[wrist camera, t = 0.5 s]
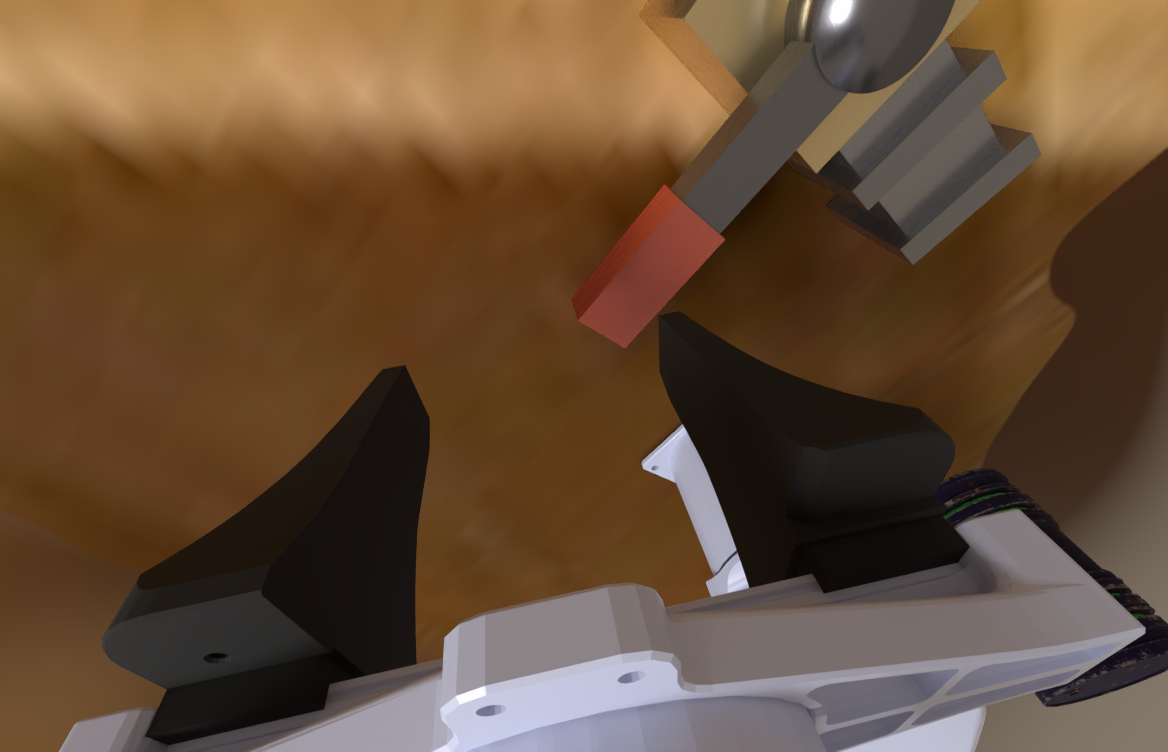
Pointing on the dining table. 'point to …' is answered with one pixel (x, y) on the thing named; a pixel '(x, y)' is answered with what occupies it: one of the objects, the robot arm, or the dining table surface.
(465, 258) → the dining table surface
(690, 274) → the lever
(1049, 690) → the storage jar
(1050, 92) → the dining table surface
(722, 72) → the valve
